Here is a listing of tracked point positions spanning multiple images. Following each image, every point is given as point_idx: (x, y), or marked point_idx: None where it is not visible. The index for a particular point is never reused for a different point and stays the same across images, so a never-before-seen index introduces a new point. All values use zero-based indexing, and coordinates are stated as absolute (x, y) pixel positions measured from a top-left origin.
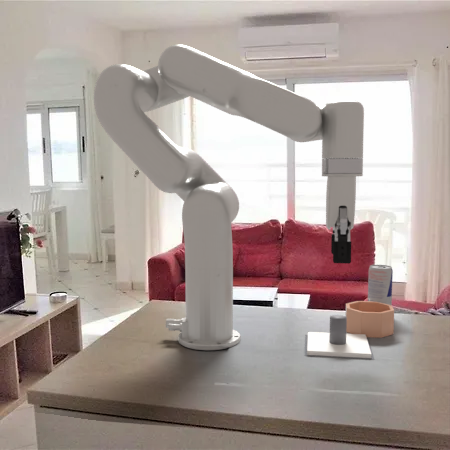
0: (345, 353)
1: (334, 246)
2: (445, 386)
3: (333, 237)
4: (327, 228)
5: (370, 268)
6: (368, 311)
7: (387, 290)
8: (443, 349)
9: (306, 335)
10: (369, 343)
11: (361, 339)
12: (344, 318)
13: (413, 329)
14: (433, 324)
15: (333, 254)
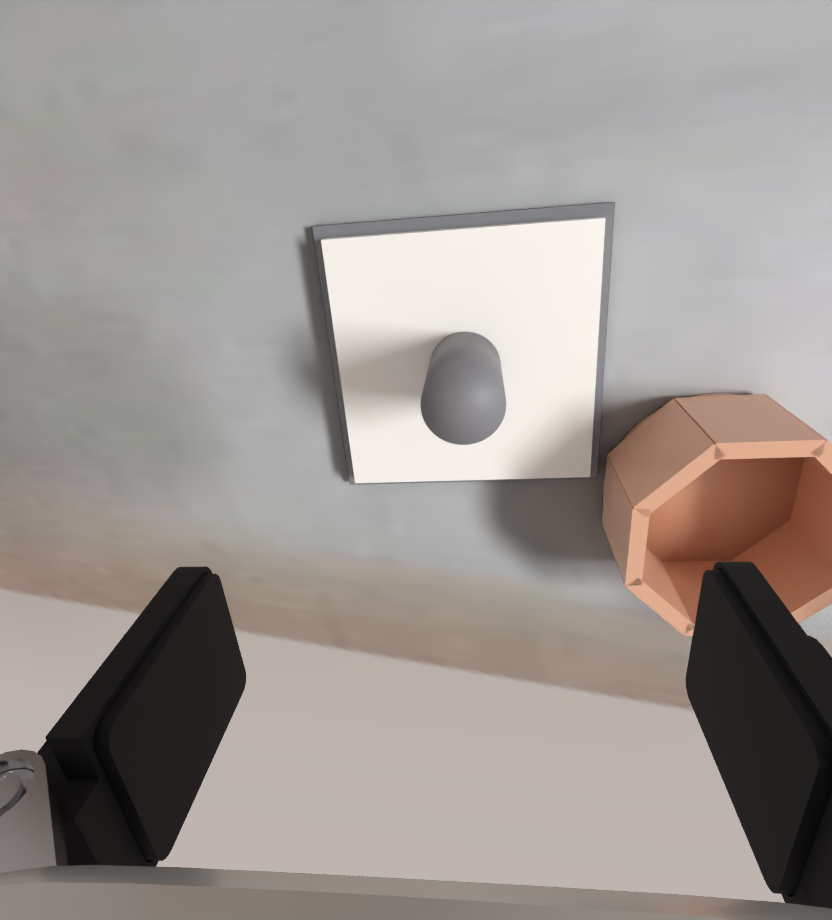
0: (344, 395)
1: (90, 693)
2: None
3: (801, 737)
4: (10, 876)
5: None
6: (824, 522)
7: None
8: (519, 675)
9: (603, 209)
10: (522, 479)
11: (520, 458)
12: (446, 434)
13: None
14: None
15: (140, 617)
